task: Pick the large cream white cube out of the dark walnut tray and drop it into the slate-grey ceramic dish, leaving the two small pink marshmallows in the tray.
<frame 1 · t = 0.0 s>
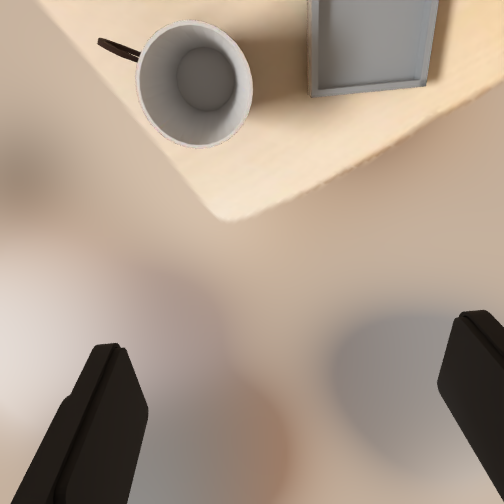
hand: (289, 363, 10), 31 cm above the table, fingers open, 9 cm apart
coffee mug: (195, 67, 34), on the table
slate dish: (365, 25, 32), on the table
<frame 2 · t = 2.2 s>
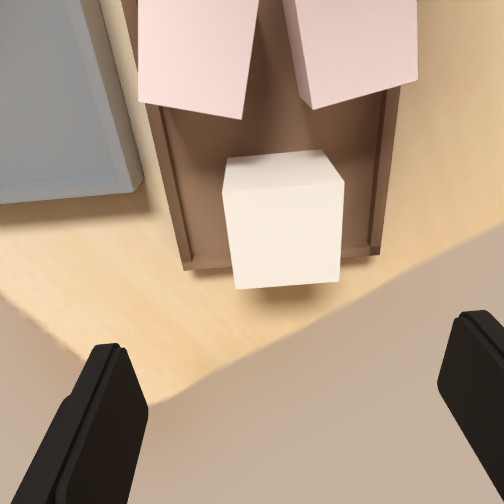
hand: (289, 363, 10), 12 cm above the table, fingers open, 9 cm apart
marshmallow small 2: (205, 50, 16), point 1 cm above the table, touching walnut tray
slate dish: (8, 82, 17), on the table
cream white cube: (276, 197, 20), point 1 cm above the table, touching walnut tray
walnut tray: (271, 130, 19), on the table
marshmallow small 1: (334, 37, 16), point 1 cm above the table, touching walnut tray
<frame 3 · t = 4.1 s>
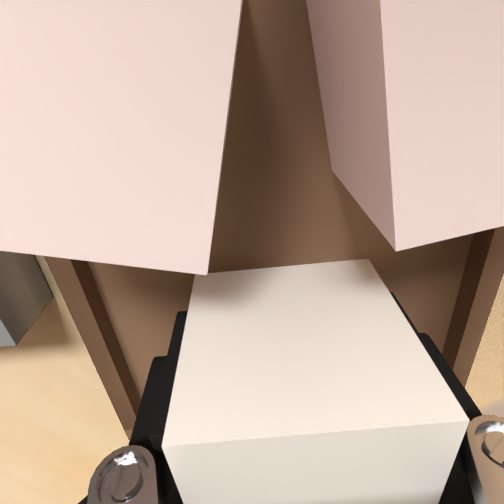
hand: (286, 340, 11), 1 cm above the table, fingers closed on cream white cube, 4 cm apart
marshmallow small 2: (138, 83, 7), point 1 cm above the table, touching walnut tray
cream white cube: (284, 331, 11), point 1 cm above the table, touching gripper, walnut tray
walnut tray: (276, 220, 10), on the table
marshmallow small 1: (411, 56, 7), point 1 cm above the table, touching walnut tray
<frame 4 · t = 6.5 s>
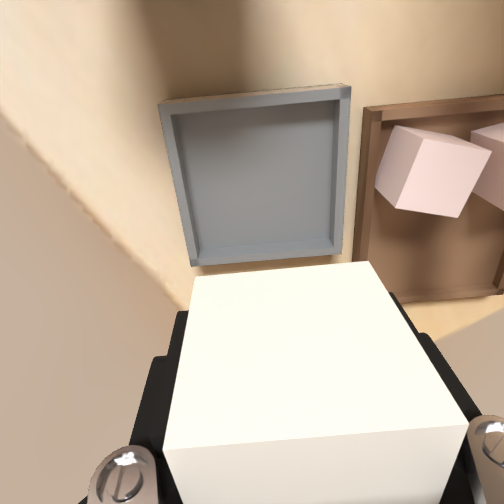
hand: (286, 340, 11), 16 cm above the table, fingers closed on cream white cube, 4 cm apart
marshmallow small 2: (411, 161, 23), point 1 cm above the table, touching walnut tray
slate dish: (259, 177, 24), on the table
cream white cube: (285, 333, 11), point 15 cm above the table, touching gripper
walnut tray: (435, 207, 26), on the table
marshmallow small 1: (500, 153, 23), point 1 cm above the table, touching walnut tray
when the fingers open (3 cm above the table, at t = 9.2 s): cream white cube drops 2 cm, resting on slate dish.
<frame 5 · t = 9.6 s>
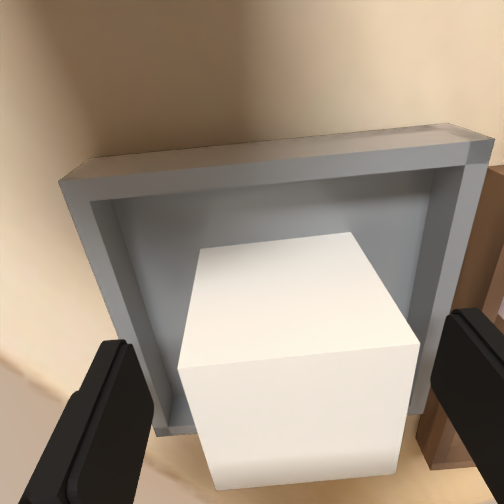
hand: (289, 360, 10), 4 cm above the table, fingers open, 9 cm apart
slate dish: (277, 286, 13), on the table
cream white cube: (280, 299, 13), point 1 cm above the table, touching slate dish
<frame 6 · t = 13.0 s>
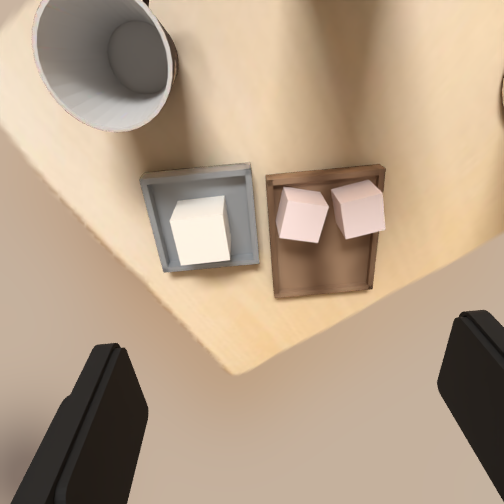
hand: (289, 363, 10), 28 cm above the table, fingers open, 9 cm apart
coffee mug: (153, 46, 30), on the table
marshmallow small 2: (297, 206, 37), point 1 cm above the table, touching walnut tray
slate dish: (205, 216, 38), on the table
cream white cube: (205, 219, 38), point 1 cm above the table, touching slate dish
walnut tray: (321, 233, 40), on the table
marshmallow small 1: (351, 201, 37), point 1 cm above the table, touching walnut tray
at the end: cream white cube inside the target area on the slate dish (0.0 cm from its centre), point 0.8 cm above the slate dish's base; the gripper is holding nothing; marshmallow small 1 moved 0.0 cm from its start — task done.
